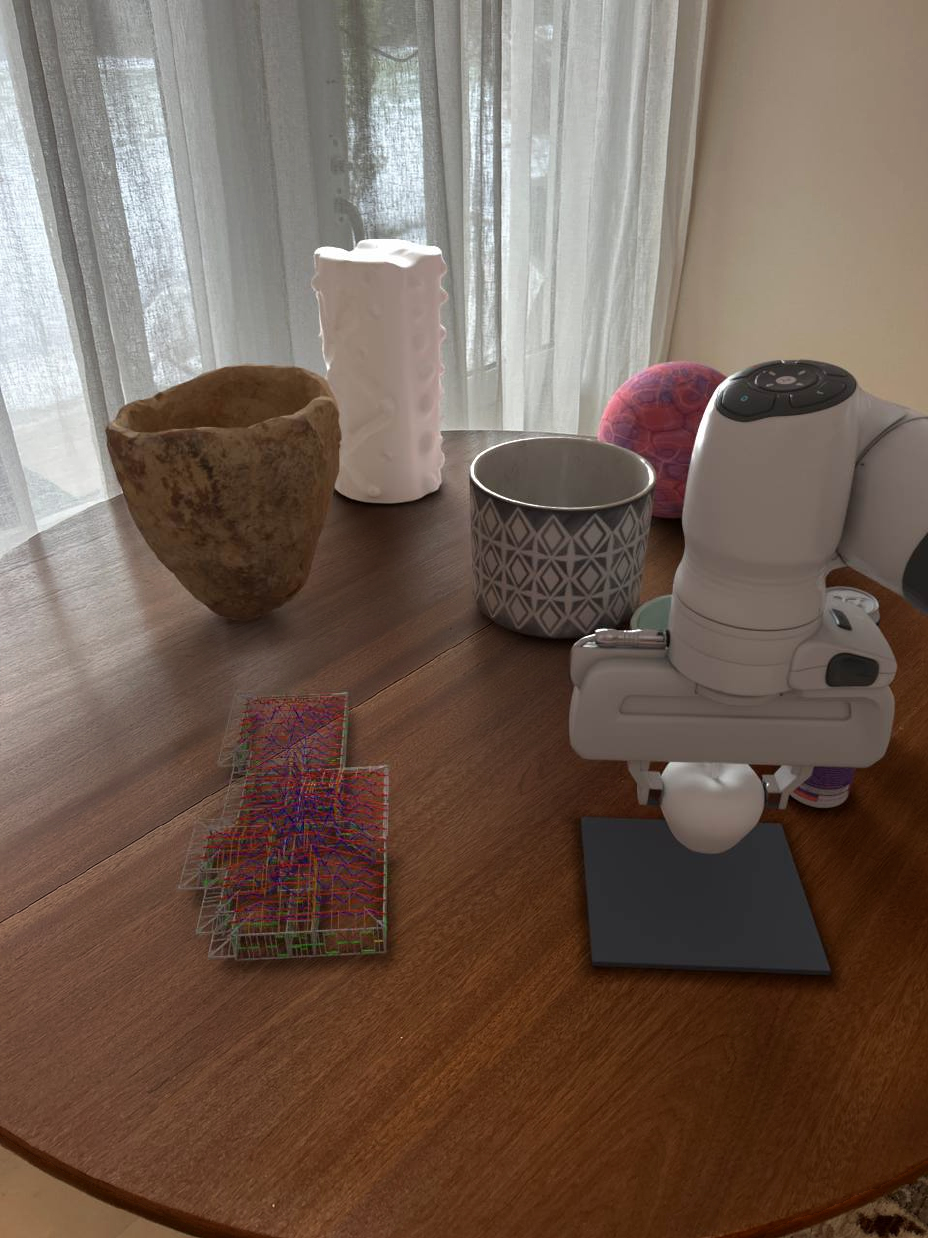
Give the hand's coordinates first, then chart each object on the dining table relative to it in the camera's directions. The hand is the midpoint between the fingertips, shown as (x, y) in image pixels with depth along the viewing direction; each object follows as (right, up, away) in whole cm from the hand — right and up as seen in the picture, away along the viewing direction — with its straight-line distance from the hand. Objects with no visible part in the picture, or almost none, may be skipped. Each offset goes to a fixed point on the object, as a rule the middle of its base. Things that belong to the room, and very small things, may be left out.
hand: (710, 801), depth 64 cm
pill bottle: (+13, -2, +14) cm, 19 cm away
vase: (-28, +32, +70) cm, 82 cm away
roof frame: (-31, -4, +11) cm, 33 cm away
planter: (-7, +14, +40) cm, 43 cm away
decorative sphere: (+10, +27, +61) cm, 68 cm away
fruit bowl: (+6, +7, +29) cm, 31 cm away
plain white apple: (0, -3, +2) cm, 3 cm away
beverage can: (+17, +4, +24) cm, 29 cm away
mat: (0, -8, +5) cm, 9 cm away
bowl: (-41, +14, +40) cm, 59 cm away
